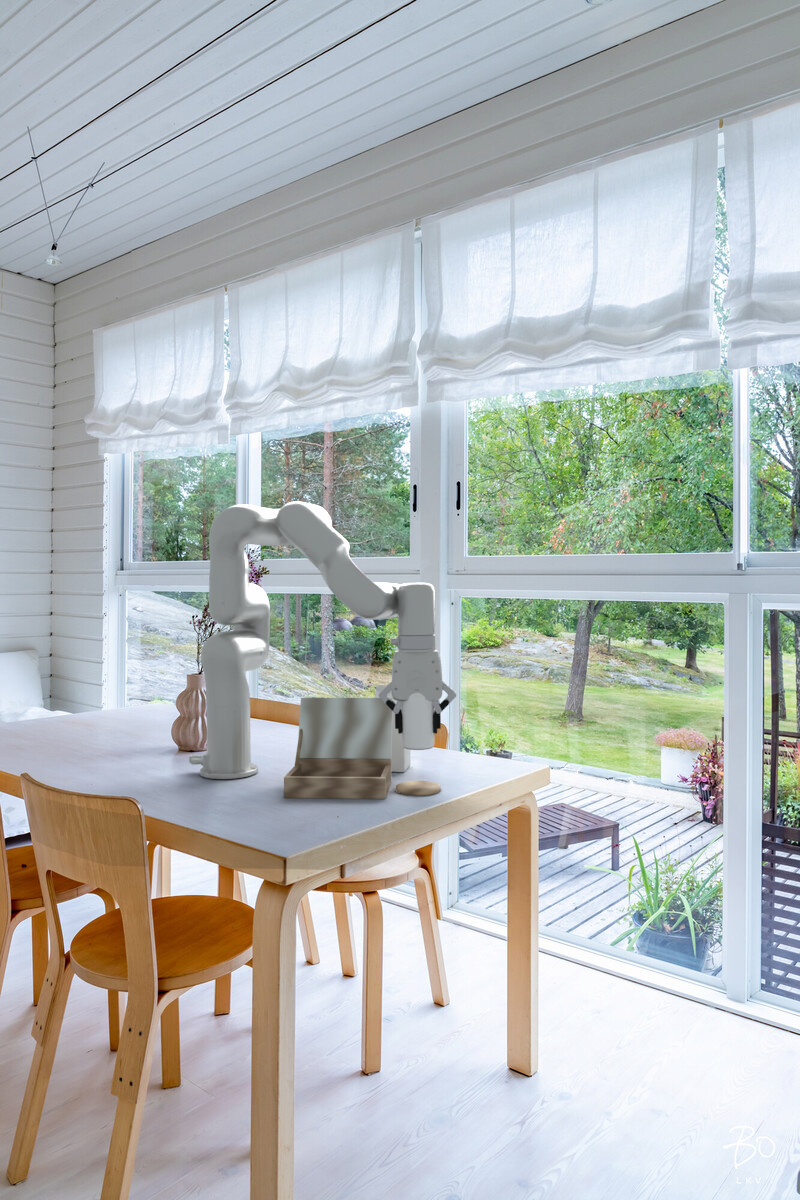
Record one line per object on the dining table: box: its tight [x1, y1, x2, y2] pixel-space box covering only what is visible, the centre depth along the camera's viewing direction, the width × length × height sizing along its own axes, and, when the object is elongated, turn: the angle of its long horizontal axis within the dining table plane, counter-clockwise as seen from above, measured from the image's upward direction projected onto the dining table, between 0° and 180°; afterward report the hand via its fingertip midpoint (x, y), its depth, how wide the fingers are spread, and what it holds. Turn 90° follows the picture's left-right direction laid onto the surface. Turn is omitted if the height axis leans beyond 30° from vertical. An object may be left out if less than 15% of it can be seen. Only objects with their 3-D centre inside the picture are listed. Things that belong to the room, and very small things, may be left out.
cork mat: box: [395, 780, 441, 797], centre depth 162 cm, size 9×9×1 cm
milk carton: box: [373, 684, 411, 773], centre depth 181 cm, size 7×7×19 cm
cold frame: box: [283, 697, 393, 800], centre depth 165 cm, size 20×18×17 cm
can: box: [402, 690, 435, 751], centre depth 161 cm, size 6×6×12 cm
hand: (418, 731), depth 161 cm, fingers closed on can, 6 cm apart
